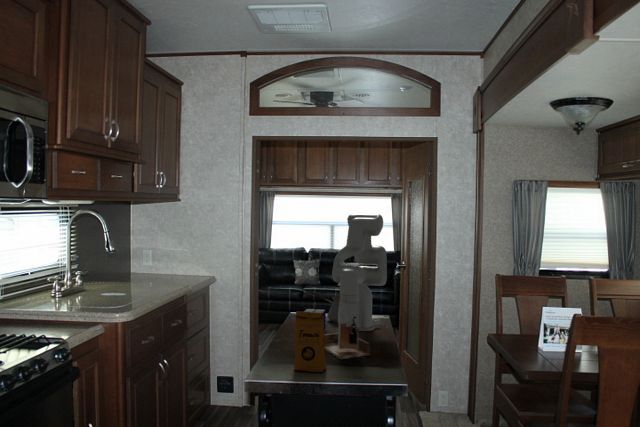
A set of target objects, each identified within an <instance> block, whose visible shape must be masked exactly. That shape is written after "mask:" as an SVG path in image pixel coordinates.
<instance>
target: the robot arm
mask: <svg viewBox="0 0 640 427" xmlns="http://www.w3.org/2000/svg"><path fill="white" fill-rule="evenodd" d="M346 220H347V225H348V230H347V237H346V244H345V246H344V247H342V248H341V249H340V250H339V251H338V252H337V254H336V255H335V257H334V258H333V259H334V260H333V266H332V272H331V273H332V274H331V278H332V280H333V282H335V283H338V284H339V296H340V302H339V308H338V323H339V321H340V322H342V323H344V324H345V327H347V328H349V329H350V333H351V334H349V343H350V344H354V343H357V333H358V329H359V332H371V331H374V330H375V329H376V326H375V325H379V324H381V320H380V319H374V318H373V292H372V291H371V289H370V288H369V287H370V286H374V287H375V286H378V287H382V286H385V285H386V283H387V280H388V279H387V278H388V271H387V270H388V268H387V267H388V266H387V265H388V263H387V262H388V261H387V251H386V250H387V249H386V248H385V247H384V246H382V245H372V237H377V236H379V235H380V233H381V232H382V230H383V228H384V217H383V215H381V214H379V213H352V214H349V215H348V217H347V219H346ZM351 257H354V261H355V262H356V264H360V265H358V266H356V265H355V266H353V265H342V263H343V262H344V261H345V260H347V259H350V258H351ZM364 265H365V266H364ZM370 265H372V266H370ZM338 323H337V324H338ZM353 324H354V325H355V326H352V325H353ZM352 328H354V329H353V330H352Z"/></svg>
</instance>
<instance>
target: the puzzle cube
mask: <svg viewBox="0 0 640 427" xmlns="http://www.w3.org/2000/svg"><path fill="white" fill-rule="evenodd" d="M303 312H319V313H323V317H324V331H325V330H326V329H327V328H326V324H327V323H326V322H327V321H326V318H327V316H326V315H327V312H326V309H316V308H306V309H305V310H304V311H303Z"/></svg>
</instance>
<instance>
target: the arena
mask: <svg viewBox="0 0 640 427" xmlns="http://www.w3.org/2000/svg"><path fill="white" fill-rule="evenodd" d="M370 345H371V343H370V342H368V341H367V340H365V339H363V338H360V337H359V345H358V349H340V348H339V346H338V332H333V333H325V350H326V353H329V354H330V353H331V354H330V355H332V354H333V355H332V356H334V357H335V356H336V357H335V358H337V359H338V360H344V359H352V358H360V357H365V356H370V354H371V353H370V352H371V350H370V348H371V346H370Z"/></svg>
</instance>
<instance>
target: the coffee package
mask: <svg viewBox="0 0 640 427" xmlns="http://www.w3.org/2000/svg"><path fill="white" fill-rule="evenodd" d="M294 325H295V328H294V354H295V355H294V356H295V358H294V364H293V367H294V368H293V369H294V371H301V372H310V373H320V372H323V373H324V371H325V370H326V369H327V353H328V352H327V351H326V350H325V334H326V331H325V330H324V317H323V313H319V312H304V311H295V324H294ZM324 369H325V370H324Z"/></svg>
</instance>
